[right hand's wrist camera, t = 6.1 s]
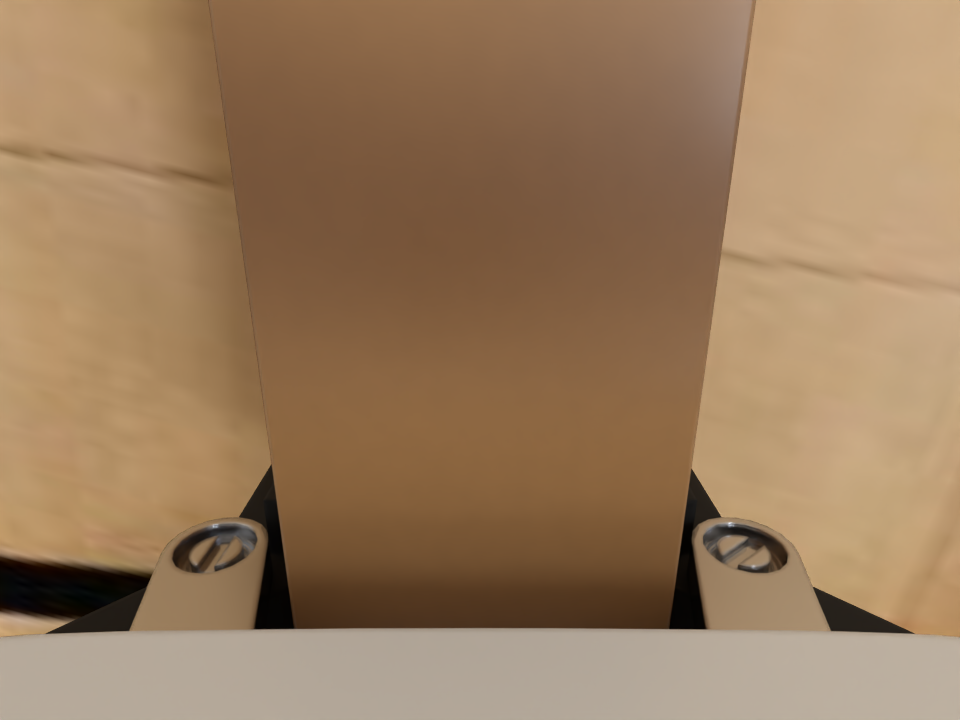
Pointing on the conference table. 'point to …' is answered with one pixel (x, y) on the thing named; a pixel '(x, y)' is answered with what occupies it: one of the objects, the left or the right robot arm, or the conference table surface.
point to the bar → (481, 294)
